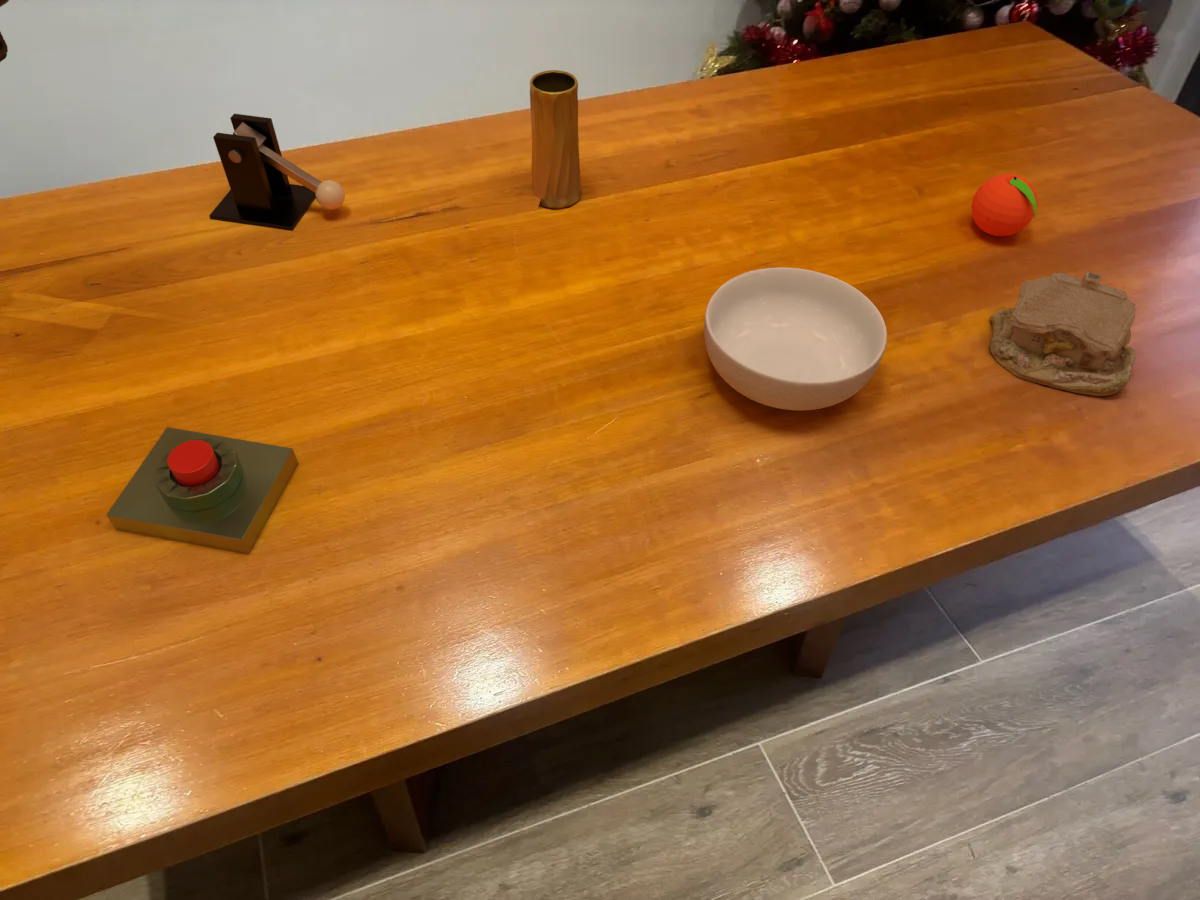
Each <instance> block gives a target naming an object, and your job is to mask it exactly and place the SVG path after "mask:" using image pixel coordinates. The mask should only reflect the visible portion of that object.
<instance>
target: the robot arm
mask: <svg viewBox="0 0 1200 900" xmlns="http://www.w3.org/2000/svg"><path fill="white" fill-rule="evenodd" d="M9 1H10V0H0V8H2V7H3V6H4V5H6V4H7V3H9ZM8 49H9V48H8V44H7V43H6V40H5V39H4V36H3V34H2V32H1V31H0V63H2V61H4V60H5V59H6V58H7V56H8V52H9V50H8Z"/></svg>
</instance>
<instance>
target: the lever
mask: <svg viewBox="0 0 1200 900" xmlns="http://www.w3.org/2000/svg"><path fill="white" fill-rule="evenodd" d="M232 134H233V135H240V136H248V137H255V138H256V142H257V145H258V149H259V152H260V155H261V159H262V160H263V161H265V162H267V163H268V164H270V165H271V166H273V167H275V168H276V169H278V170H279V171H281V172H283V173H284V174H286V175H287V176H288V178H291V179H292V180H293V181H295V182H297V183H299V185H302V186H305V187H306V188H308V189H310V190H311V191H313V192H314V193H315V195H316V199H315V200H316V202H317V204H319V206H320V207H322V208H323V209H326V210H329V211H331V210H337V209H339V208H340V207H342V205H343V204H344V202H345V199H346V193H345V189H344V188H343V187H342V185H341V184H340V183H338V182H337V181H335V180H331V179H326V180H323V181H321V180H319V179H318V178H316V177H314V176H313V175H312V174H310V173H308V172H307V171H305V170H303V169H302V168H300V167H299V166H297V165H296V164H295V163H293V162H291V161H289V160H288V159H287V158H285V157H283V156H282V157H281V156H280V155H278V154H277V153H275V152H274V151H272V150H270V149H269V148H267V147H266V146H264V145H263V144H264V142H265V139H266V137H265V136H263V135H262V134H260V133H259V132H257V131H256V130H254V129H253V128H251V127H249V126H248V125H246V124H245V123H243V122H242V123H241V124H240V126H239V127H238V128H237V129H236V130H235V131H234V130H233V132H232Z"/></svg>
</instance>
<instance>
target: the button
mask: <svg viewBox="0 0 1200 900" xmlns="http://www.w3.org/2000/svg"><path fill="white" fill-rule="evenodd" d="M167 462H168V466H169V468H170V470H171V472H172V473H173V475H174V477H175V479H176V480H177V482H179V483H180V484H182V485H185V486H197V485H201V484H204V483H206V482H208V481H209V480H211V479H212V478H213V477H214V476H215V475H216V473H217V471H218V469H219V462H218V459H217V457H216V455H215V453H214V451H213V449H212V447H211V446H210V445H209V444H208V443H206V442H204V441H200V440H192V441H187V442H184V443H182V444H180V445H178V446H177V447H175V448H174V449H173V450H172V451H171V453H170V454H169V456H168V461H167Z"/></svg>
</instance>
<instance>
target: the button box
mask: <svg viewBox="0 0 1200 900" xmlns="http://www.w3.org/2000/svg"><path fill="white" fill-rule="evenodd" d="M192 440H200V441H204V442H206V443H208V444H209V445H210V446H211V447H212V449H213V451H214V453H215V455H216V457H217V459H218V462H219V469H218V471H217V473H216V475H215V476H214V477H213V478H212V479H211V480H209V481H208V482H206V483H204V484H201V485H197V486H185V485H182V484H180V483H179V482H177V480H176V479H175V477H174V475H173V473H172V472H171V470H170V468H169V466H168V462H167V461H168V456H169V454H170V453H171V451H172V450H173V449H174V448H175V447H177V446H178V445H180V444H182V443H184V442H187V441H192ZM298 465H299V462H298V458H297V455H296V453H295V450H294V448H292V447H287V446H280V445H275V444H268V443H264V442H263V443H262V442H257V441H250V440H246V439H240V438H235V437H228V436H222V435H216V434H210V433H204V432H200V431H199V432H198V431H193V430H188V429H182V428H175V427H170V426H167V427H165V429H164V431H163V432H162V433H161V435H160V436H159V438H158V439H157V441H156V442H155V444H154V445H153V446H152V448H151V450H150V451H149V452H148V453H147V455H146V456H145V458H144V460H143V461H142V462H141V464H140V465H139V467H138V468H137V469H136V471H135V472H134V474H133V476H132V477H131V478H130V480H129V481H128V483H127V484H126V485H125V486H124V488H123V489H122V491H121V492H120V494H119V495H118V497H117V498H116V500H115V502H114V503H113V504H112V505H111V507H110V509H109V510H108V511H107V513H106V517H107V518H108V520H109V521H110V523H111V525H112V526H113V527H114V529H115V530H116V531H122V532H127V533H132V534H136V535H137V534H138V535H143V536H148V537H153V538H158V539H163V540H169V541H175V542H181V543H186V544H191V545H196V546H202V547H207V548H212V549H217V550H222V551H229V552H233V553H240V554H245V555H250V554H251V552H252V550H253V549H254V547H255V544H256V543H257V541H258V539H259V537H260V535H261V534H262V532H263V530H264V528H265V526H266V524H267V523H268V521H269V519H270V517H271V515H272V513H273V511H274V510H275V508H276V506H277V504H278V503H279V501H280V498H281V497H282V495H283V493H284V492H285V490H286V488H287V487H288V483H289V482H290V480H291V478H292V477H293V474H294V473H295V471H296V469H297V467H298Z"/></svg>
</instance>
